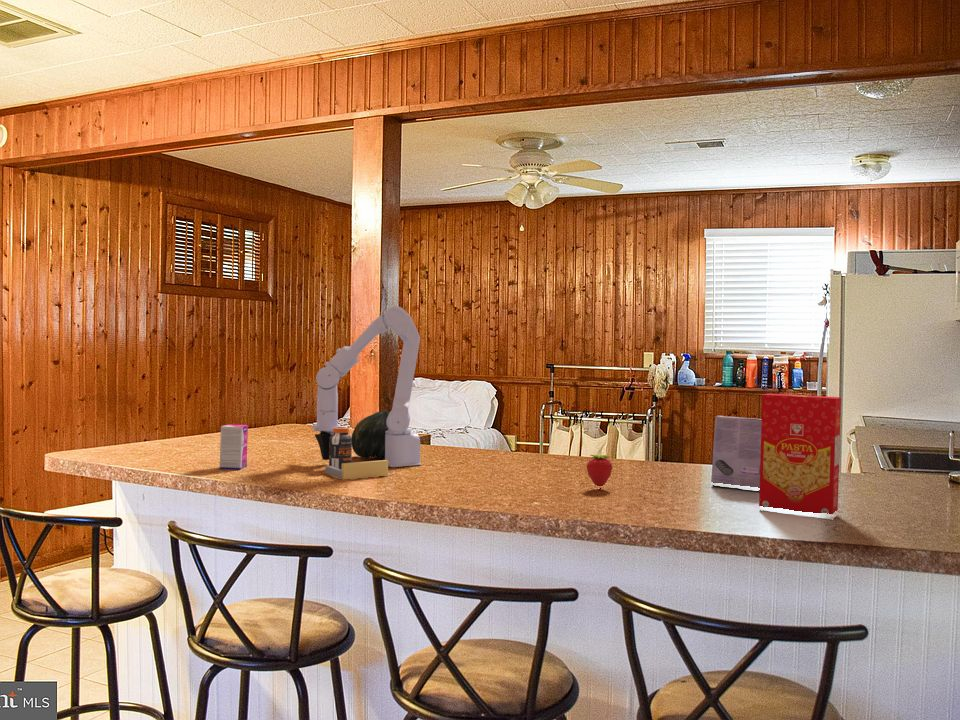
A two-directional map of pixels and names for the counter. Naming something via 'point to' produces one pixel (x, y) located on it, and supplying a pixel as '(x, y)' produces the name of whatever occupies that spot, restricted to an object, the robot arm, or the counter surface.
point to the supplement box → (233, 447)
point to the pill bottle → (340, 447)
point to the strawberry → (599, 469)
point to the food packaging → (800, 452)
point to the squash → (370, 436)
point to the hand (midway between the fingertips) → (326, 459)
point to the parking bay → (359, 470)
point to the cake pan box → (737, 451)
